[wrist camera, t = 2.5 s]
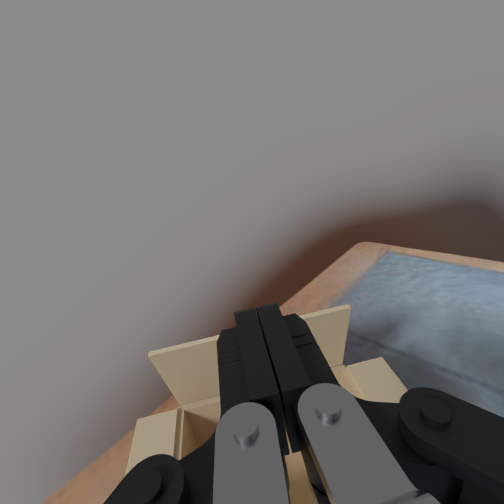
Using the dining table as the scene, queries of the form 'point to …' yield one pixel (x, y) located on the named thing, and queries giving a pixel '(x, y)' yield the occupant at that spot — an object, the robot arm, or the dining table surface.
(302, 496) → the carton
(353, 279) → the dining table surface
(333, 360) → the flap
